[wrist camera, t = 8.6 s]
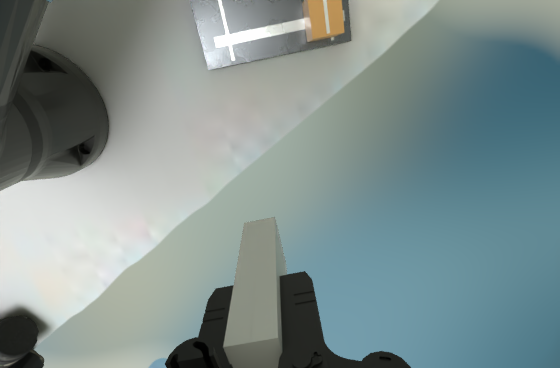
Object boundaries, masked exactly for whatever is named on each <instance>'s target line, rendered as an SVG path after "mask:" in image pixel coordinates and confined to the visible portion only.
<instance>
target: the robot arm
mask: <svg viewBox="0 0 560 368" xmlns="http://www.w3.org/2000/svg"><path fill="white" fill-rule="evenodd" d="M48 2H50V3H51V2H52V0H0V191H1V190H3V189H5V188H7V187H9V186H12V185H14V184H16V183H18V182H20V181H27V180H38V179H50V178H59V177H63V176H67V175H70V174H73V173H75V172H77V171H79V170H81V169H83V168H84V167H86V166H88V165H89V164H91V163H92V162H93V161H94V160H95V159H96V158H97V157H98V156H99V155H100V154H101V152H102V150H103V148H104V146H105V144H106V140H107V136H108V118H107V113H106V109H105V106H104V103H103V100H102V98H101V96H100V94H99V92H98V91H97V89H96V87H95V86H94V84H93V83H92V82H91V80H90V79H89V78H88V77H87V76H86V74H85V73H84V72H83V71H82V70H81V69H79V68H78V67H77V66H76V65H75V64H74V63H72V62H71V61H70V60H68V59H67V58H65V57H63V56H62V55H60V54H58V53H56V52H54V51H52V50H49V49H47V48H44V47H40V46H36V45H33V43H34V40H35V37H36V34H37V32H38V29H39V26H40V24H41V21H42V18H43V15H44V13H45V10H46V7H47V5H48ZM165 365H166V367H167V368H411V367H410V366H409V365H408V364H407V363H406V362H405V361H404V360H403V359H402V358H401V357H399V356H397V355H395V354H393V353H389V352H383V351H379V352H374V353H370V354H369V355H368V356H366V357H365V358H363V360H362V361H356V360H350V359H346V358H342V357H340V356H338V355H336V354H334V353H333V352H332V351H331V350H330V349H329V348H328V347H327V346H326V344H325V342H324V338H323V332H322V327H321V322H320V317H319V312H318V306H317V302H316V297H315V292H314V287H313V282H312V279H311V278H310V277H309V276H308V274H307V273H306V272H305V271H304V272H299V273H293V274H288V275H287V270H286V261H285V257H284V253H283V249H282V245H281V240H280V236H279V232H278V228H277V224H276V220H275V217H272V218H267V219H262V220H257V221H252V222H247V223H244V227H243V233H242V240H241V244H240V250H239V256H238V262H237V268H236V274H235V280H234V285H233V286H227V287H222V288H217V289H215V291H214V292H213V294H212V295H211V296H210V298H209V299H208V302H207V306H206V310H205V314H204V317H203V323H202V325H201V329H200V332H199V336H198V338H196V337H195V338H192V339H189V340H186V341H185V342H183V343H182V344H180V345H179V346H177V347H176V348H175V349H174V351H173V352H172V353H171V354H170V355H169V357H168V359H167V361H166V363H165Z"/></svg>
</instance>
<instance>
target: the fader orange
mask: <svg viewBox="0 0 560 368" xmlns="http://www.w3.org/2000/svg"><path fill="white" fill-rule="evenodd" d="M302 7H303V15H304V22H305V29H306V37H307V42H311V41H316V40H321V39H325V38H330V37H335V36H337V35H340V34H342V33H344V21H343V10H342V0H304V1H303V3H302Z"/></svg>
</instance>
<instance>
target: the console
mask: <svg viewBox="0 0 560 368" xmlns="http://www.w3.org/2000/svg"><path fill="white" fill-rule="evenodd" d="M303 1H304V0H190V3H191V6H192V10H193V14H194V18H195V22H196V25H197V29H198V33H199V37H200V40H201V44H202V48H203V52H204V56H205V59H206V63H207V67H208V70H212V69H217V68H222V67H227V66H231V65H236V64H241V63H246V62H251V61H256V60H260V59H265V58H270V57H275V56H280V55H285V54H290V53H294V52H299V51H304V50H309V49H314V48H319V47H324V46H328V45H333V44H338V43H343V42H348V41H351V31H350V19H349V7H348V0H342V10H343V21H344V33H342V34H340V35H337V36H335V37H330V38H325V39H321V40H316V41H311V42H307V37H306V29H305V22H304V15H303V7H302V3H303Z"/></svg>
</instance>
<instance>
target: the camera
mask: <svg viewBox="0 0 560 368" xmlns="http://www.w3.org/2000/svg"><path fill="white" fill-rule="evenodd" d="M37 335H38V328H37V326H36V324H35V323H34V322H33V321H32V320H31V319H30V318H26V317H23V316H15V317H11V318H6V319H4V320H1V321H0V368H42V367H43V366H44V364H43V363H44V358H43V357H42V356H41V355H39V354H38V353H37V352H36V351H34V350H33V349H32V348H33V347H34V346H35V344H36V342H37Z"/></svg>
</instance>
